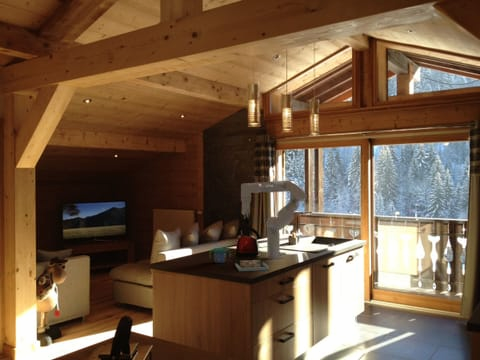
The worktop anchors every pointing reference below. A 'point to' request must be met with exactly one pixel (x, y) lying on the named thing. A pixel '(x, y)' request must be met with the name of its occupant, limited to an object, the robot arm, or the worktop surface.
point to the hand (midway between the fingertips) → (246, 223)
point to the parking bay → (253, 268)
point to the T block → (250, 263)
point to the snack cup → (220, 254)
